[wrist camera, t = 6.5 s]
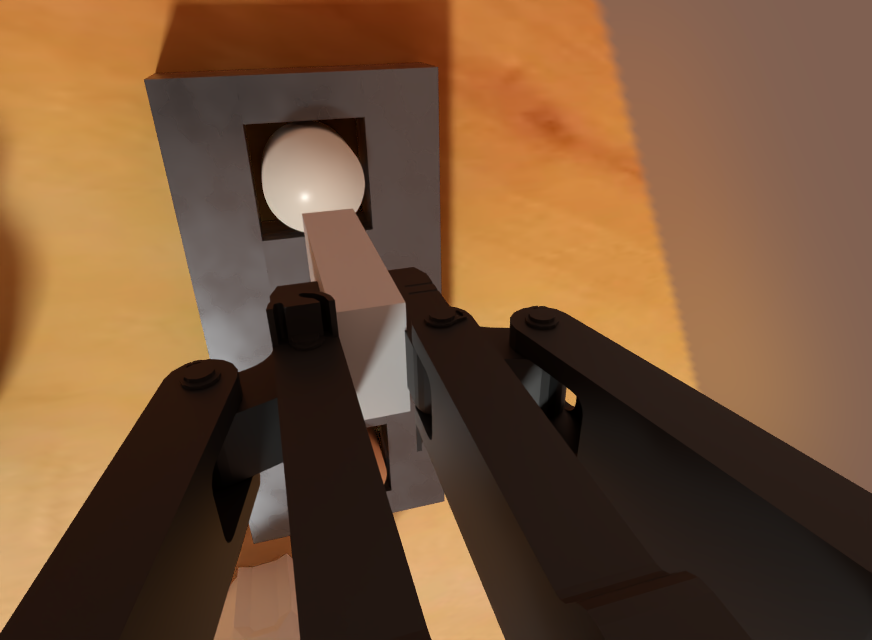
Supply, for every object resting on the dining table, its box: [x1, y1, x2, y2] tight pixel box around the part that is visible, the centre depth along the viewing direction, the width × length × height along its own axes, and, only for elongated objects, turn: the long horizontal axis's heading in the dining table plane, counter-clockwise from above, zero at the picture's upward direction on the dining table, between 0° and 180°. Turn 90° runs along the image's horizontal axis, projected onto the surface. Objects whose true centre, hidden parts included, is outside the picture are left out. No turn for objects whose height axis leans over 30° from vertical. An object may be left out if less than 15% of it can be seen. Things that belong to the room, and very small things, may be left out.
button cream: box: [261, 120, 365, 232], centre depth 27 cm, size 4×4×4 cm
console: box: [144, 63, 444, 544], centre depth 31 cm, size 26×12×3 cm, turn 1°
